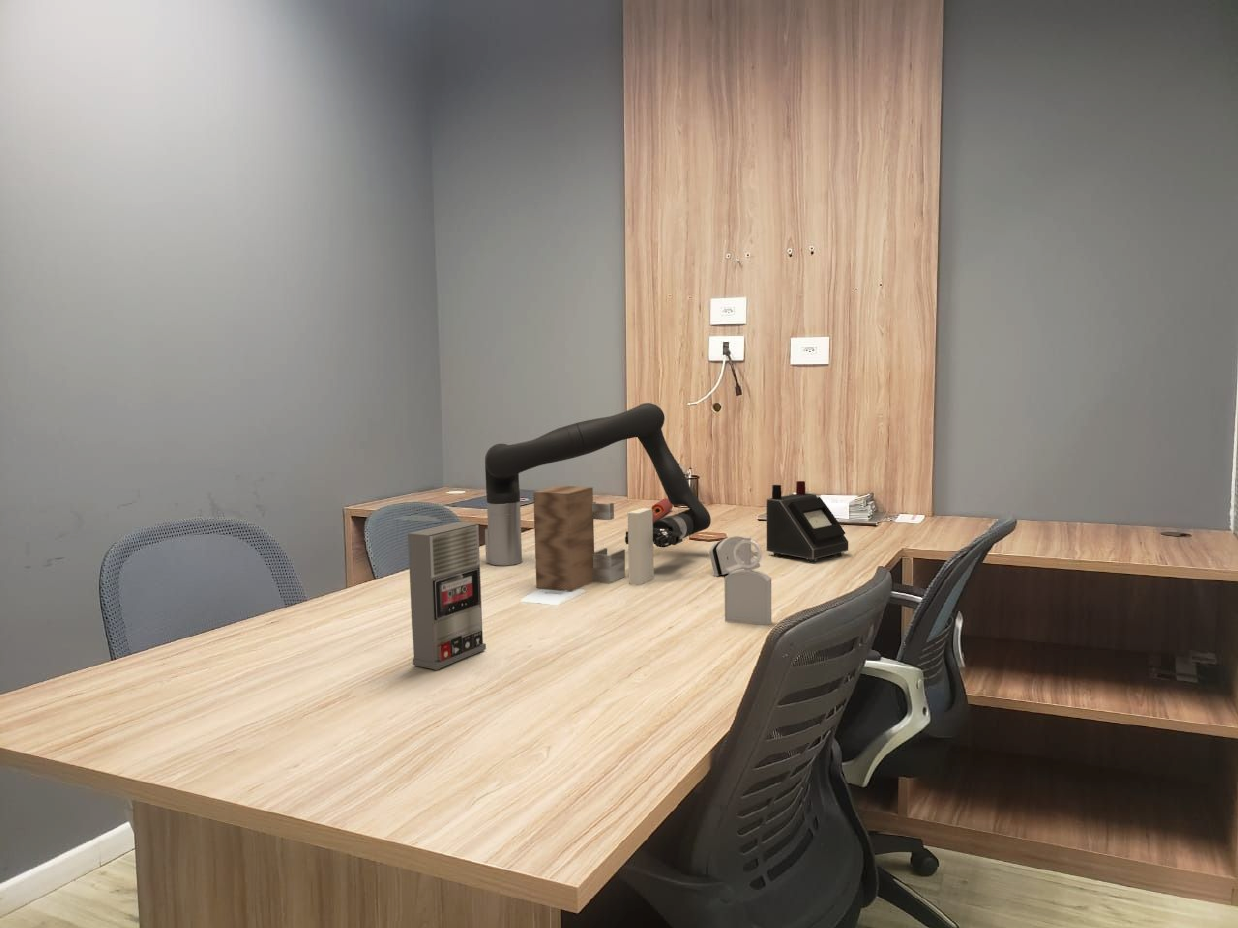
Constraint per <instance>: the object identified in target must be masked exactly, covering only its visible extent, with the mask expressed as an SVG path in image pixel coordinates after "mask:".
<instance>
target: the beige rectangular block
mask: <svg viewBox="0 0 1238 928" xmlns="http://www.w3.org/2000/svg"><path fill="white" fill-rule="evenodd" d="M627 531H628V544H627V547H628V551H627V552H628V584H630V585H635V586H641V585H642V584H645V583H647V582H649V581H650V580H653V579H654V543H653V520H652V509H651V508H647V507H646V508H645V507H641V508H638V509H635V510H632V511H629V512H627ZM652 578H653V579H652Z"/></svg>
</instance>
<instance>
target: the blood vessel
mask: <svg viewBox="0 0 1238 928" xmlns="http://www.w3.org/2000/svg"><path fill="white" fill-rule="evenodd" d="M673 507H674V505H672V504H671V503H670V501H669V499H668V497H667V498H666V497H665V498H662V499H660V500H659V501H658V502H656V503H654V504H653V505H652V506H651V507H650V509H652V520H653V522H654V521H656V520H659V519H661V518H663V516H664V515H667V513H668V512H670V511H671V510H672V509H673Z"/></svg>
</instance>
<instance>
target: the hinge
mask: <svg viewBox="0 0 1238 928" xmlns="http://www.w3.org/2000/svg"><path fill="white" fill-rule="evenodd" d="M744 538H745V537H743V536H729V537H726V538H723V539H720V540H718V541H717V542H716V543H714V544H713V545H712V546H711V547H710V549H709V550H708V554H709V558H710V563H711V567H712V571H713V574H714V577H719V576H722V575H726V574H727V575H729V574H730V573H732V572H734V571H736V570H740V569H744V567H742V566H740V565H739V564H738V563H737V562H736V560H735V558H734V554H733V553H734V548H735V546H736V545H737V544H738V543H739V542H740V541H742V540H744ZM738 551H744V543H743V544H741V545H740V546H739V548H738ZM738 557H739V559H740V560H741V561H742V562H744V556H741V555H738ZM756 560H757V558H756V557H755V556H751V564H753V563H755V561H756ZM760 567H761V564H760V562H759V563H758V564H757V565H755V566H753V567H751V569H753V570H756V569H758V568H760Z"/></svg>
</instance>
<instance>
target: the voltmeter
mask: <svg viewBox="0 0 1238 928" xmlns="http://www.w3.org/2000/svg"><path fill="white" fill-rule="evenodd" d="M771 489H772V491H771V497H769V498H766V503H765V504H766V552H771V553H773V557H781V556H782V555H786V556H787V555H788V556H793V557H798V558H803V559H804V558H805V559H806V560H807V562H808V563H811V564H813V563H816V562H817V559H819V558H823V557H828V556H831V555H833V556H834V557H841V556H842V553H844V552H847V551H849V540H848V539H847V537H846V536H845V534H846V531H845V529H843V527H842V526H841V524H840V523H839V521H838V519H837V518H836V517H835V515H834V514H833V513H832V511H831V510H830V509H829V507H828V506H827V505H826V503H825V502H824V500H823V499H822V498H821V496H817V494H815V493H806V481H805V480H804V481H803V480H797V481H796V487H795V493H794V494H787V495H783V496H782V484H772V488H771Z"/></svg>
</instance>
